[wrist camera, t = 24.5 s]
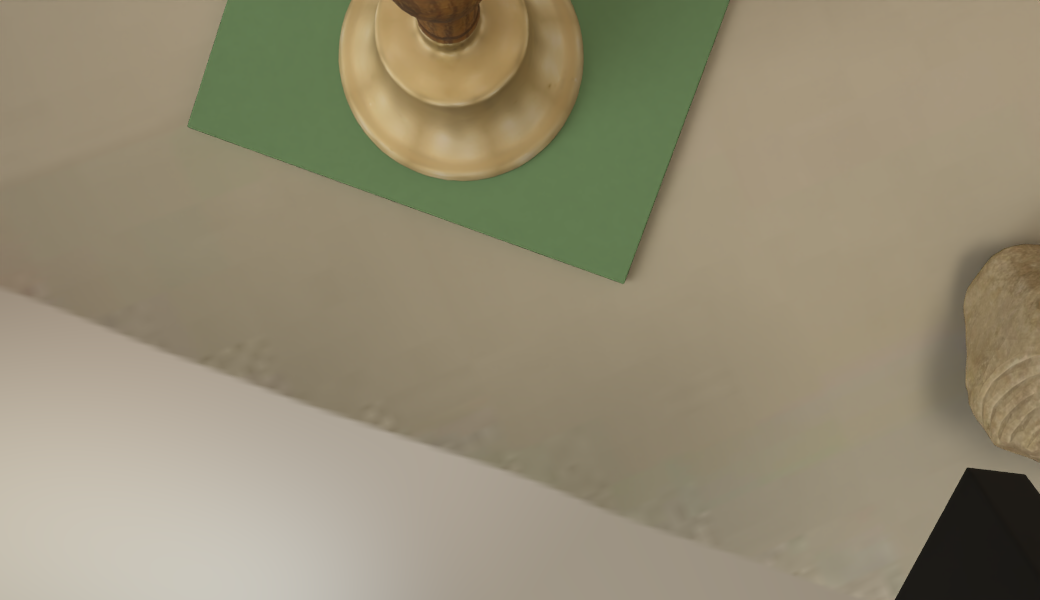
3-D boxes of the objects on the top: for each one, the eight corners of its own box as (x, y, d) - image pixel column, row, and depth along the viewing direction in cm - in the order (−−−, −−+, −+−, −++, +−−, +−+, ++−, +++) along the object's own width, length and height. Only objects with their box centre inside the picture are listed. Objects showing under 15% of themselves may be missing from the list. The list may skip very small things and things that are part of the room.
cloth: (190, 127, 32) (186, 126, 32) (290, -186, 31) (288, -191, 30) (622, 283, 33) (624, 284, 32) (734, -17, 32) (737, -20, 31)
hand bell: (336, -68, 31) (156, -354, 15) (583, -68, 31) (663, -352, 15) (341, 181, 32) (176, 159, 16) (582, 181, 32) (656, 159, 16)
